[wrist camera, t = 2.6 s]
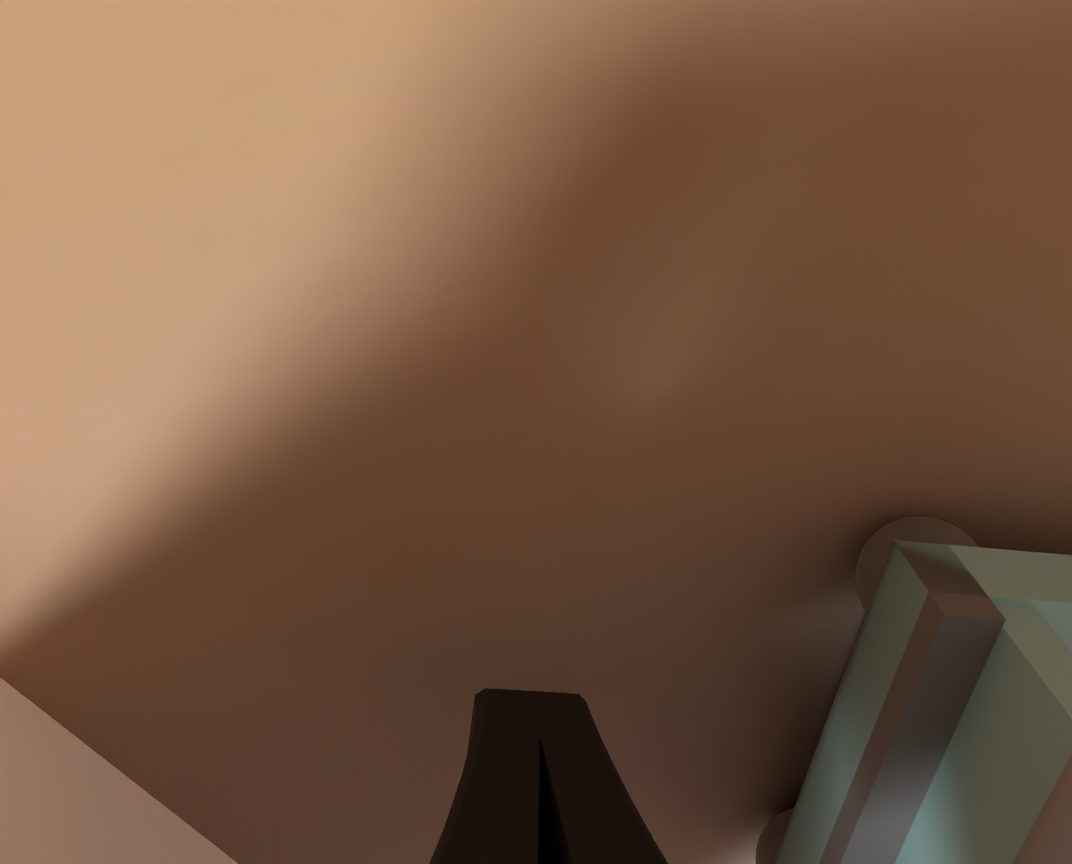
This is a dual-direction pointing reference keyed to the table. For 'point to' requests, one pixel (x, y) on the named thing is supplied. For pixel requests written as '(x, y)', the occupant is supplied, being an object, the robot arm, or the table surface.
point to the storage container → (79, 801)
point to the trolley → (944, 712)
